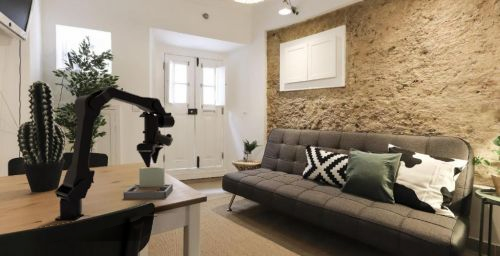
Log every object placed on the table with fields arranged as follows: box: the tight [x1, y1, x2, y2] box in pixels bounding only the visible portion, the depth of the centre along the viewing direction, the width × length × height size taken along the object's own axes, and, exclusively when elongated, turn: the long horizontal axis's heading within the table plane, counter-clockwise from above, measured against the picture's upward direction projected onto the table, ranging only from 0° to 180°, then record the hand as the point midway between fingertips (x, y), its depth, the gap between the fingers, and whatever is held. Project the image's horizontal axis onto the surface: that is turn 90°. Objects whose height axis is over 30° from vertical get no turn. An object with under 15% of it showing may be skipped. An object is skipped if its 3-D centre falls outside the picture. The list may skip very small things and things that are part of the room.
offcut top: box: [133, 188, 160, 192], centre depth 107 cm, size 5×9×1 cm, turn 94°
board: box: [138, 167, 166, 187], centre depth 112 cm, size 2×10×10 cm, turn 94°
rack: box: [123, 183, 174, 200], centre depth 109 cm, size 12×16×3 cm
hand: (151, 165), depth 112 cm, fingers open, 9 cm apart
